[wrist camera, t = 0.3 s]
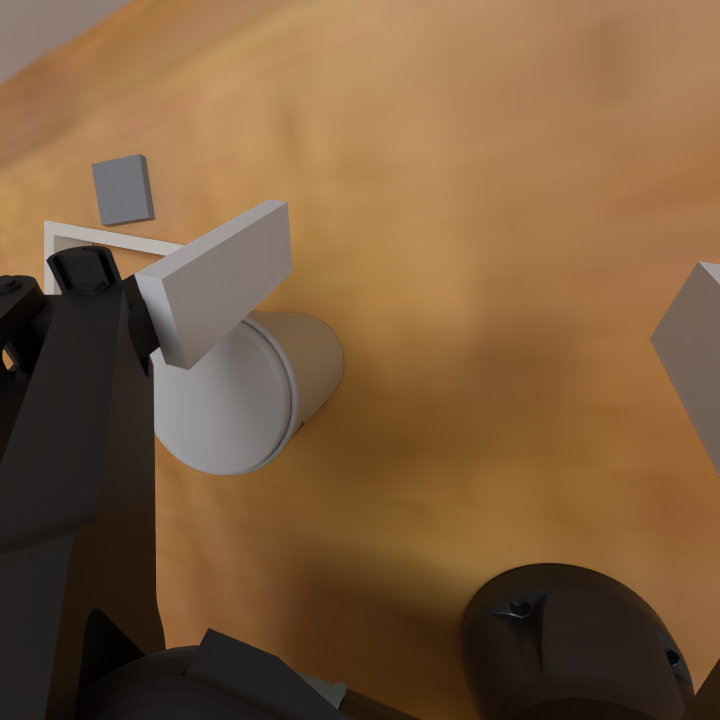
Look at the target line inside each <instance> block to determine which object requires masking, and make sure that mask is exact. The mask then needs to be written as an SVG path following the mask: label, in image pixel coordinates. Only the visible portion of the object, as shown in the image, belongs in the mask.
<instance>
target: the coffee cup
mask: <svg viewBox="0 0 720 720" xmlns="http://www.w3.org/2000/svg"><path fill="white" fill-rule="evenodd" d="M150 357H151V360H152V362H153V365H154V432H155V434H156V435H157V437H158V439H159V440H160V441H161V443H162V444H163V445H164V446H165V447H166V448H167V449H168V450H169V451H170V452H171V453H172V454H173V455H174V456H175V457H176V458H178V459H179V460H180V461H182V462H183V463H185V464H186V465H188V466H190V467H192V468H194V469H196V470H199V471H201V472H205V473H209V474H214V475H238V474H245V473H249V472H252V471H255V470H257V469H259V468H261V467H263V466H265V465H266V464H268V463H269V462H271V461H272V460H273V459H274V458H275V457H276V456H278V454H279V453H280V452H281V451H282V450H283V449H284V447H285V446H286V444H287V443H288V442H289V440H290V439H291V438H292V437H293V436H294V435H295V434H296V433H297V432H298V431H299V430H300V429H301V427H302V426H303V425H304V424H305V423H306V422H307V421H308V420H309V419H310V418H311V417H312V416H313V415H314V414H315V413H316V411H317V410H318V409H319V408H320V407H321V406H322V405H323V404H324V403H325V402H326V401H327V399H328V398H329V397H330V396H331V395H332V394H333V392H334V391H335V390H336V388H337V387H338V385H339V383H340V381H341V378H342V374H343V369H344V357H343V351H342V348H341V345H340V342H339V340H338V338H337V337H336V335H335V334H334V332H333V331H332V330H331V329H330V328H329V327H328V326H327V325H326V324H325V323H324V322H322V321H321V320H319V319H317V318H315V317H313V316H309V315H305V314H298V313H283V312H260V311H251V312H250V313H249V314H248V315H247V316H246V317H245V318H244V319H242V320H241V321H240V322H239V323H238V324H237V325H236V326H235V327H234V328H233V329H232V330H231V331H230V332H229V333H228V334H227V335H226V336H225V337H224V338H222V339H221V340H220V341H219V342H218V343H217V344H216V345H215V346H214V347H213V348H212V349H211V350H210V351H209V352H208V353H207V354H206V355H205V356H203V357H202V358H201V359H200V360H199V361H198V362H197V363H196V364H195V365H194V366H193V367H192V368H191V369H190V370H186V369H182V368H178V367H175V366H171V365H167V364H165V361H164V358H163V355H162V352H161V350H160V347H159V348H157V349H156V350H155V351H154V352H153V353H151V354H150Z"/></svg>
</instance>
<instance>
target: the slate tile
mask: <svg viewBox="0 0 720 720" xmlns="http://www.w3.org/2000/svg"><path fill="white" fill-rule="evenodd" d="M92 170H93V176H94V182H95V188H96V194H97V200H98V206H99V212H100V218H101V224H102V225H104V226H115V225H122V224H128V223H134V222H140V221H146V220H153V219H155V215H154V208H153V201H152V195H151V188H150V182H149V175H148V169H147V162H146V157H145V156H142V155H140V154H138V155H134V156H129V157H124V158H119V159H115V160H110V161H105V162H101V163H96V164H92Z"/></svg>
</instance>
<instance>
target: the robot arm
mask: <svg viewBox="0 0 720 720" xmlns="http://www.w3.org/2000/svg"><path fill="white" fill-rule="evenodd" d="M46 261H47V263H48V265H49V267H50V269H51V271H52V273H53V275H54V277H55V279H56V282H57V284H58V286H59V288H60V290H61V292H62V293H61V295H47V294H43V292H42V291H41V289H40V287H39V285H38V283H37V281H36V279H35V278H33V277H30V276H23V275H15V276H9V275H5V276H0V720H421V719H418V718H416V717H414V716H411V715H409V714H406V713H404V712H402V711H399V710H397V709H395V708H392V707H390V706H387V705H385V704H383V703H380V702H378V701H376V700H373V699H371V698H368V697H366V696H364V695H361V694H359V693H357V692H354V691H352V690H349V689H347V684H344V683H342V682H336V683H335V684H334V683H331V682H328V681H325V680H322V679H319V678H316V677H313V676H310V675H307V674H304V673H301V672H298V671H295V670H292V669H291V668H290V667H289V666H287V665H286V664H285V663H284V662H283V661H282V660H281V659H280V658H278V657H277V656H274V655H272V654H270V653H267V652H265V651H262V650H260V649H258V648H255V647H253V646H250V645H248V644H246V643H243V642H241V641H239V640H236V639H234V638H231V637H229V636H227V635H224V634H222V633H219V632H217V631H215V630H212V629H210V628H208V630H207V632H206V634H205V636H204V638H203V640H202V642H201V643H200V645H199V646H196V645H193V646H184V647H175V648H171V649H167V650H166V647H165V637H164V631H163V626H162V622H161V618H160V615H159V611H158V606H157V597H156V531H155V439H154V365H153V362H152V360H151V357H150V354H151V353H153V352H154V351H155V350H156V349H157V348H159V347H160V350H161V352H162V355H163V358H164V361H165V364H167V365H171V366H175V367H178V368H182V369H186V370H190V369H191V368H192V367H193V366H194V365H195V364H196V363H197V362H198V361H199V360H200V359H201V358H202V357H203V356H205V355H206V354H207V353H208V352H209V351H210V350H211V349H212V348H213V347H214V346H215V345H216V344H217V343H218V342H219V341H220V340H221V339H222V338H224V337H225V336H226V335H227V334H228V333H229V332H230V331H231V330H232V329H233V328H234V327H235V326H236V325H237V324H238V323H239V322H240V321H241V320H242V319H244V318H245V317H246V316H247V315H248V314H249V313H250V312H251V311H252V310H253V309H254V308H255V307H256V306H257V305H258V304H259V303H260V302H261V301H262V300H264V299H265V298H266V297H267V296H268V295H269V294H270V293H271V292H272V291H273V290H274V289H275V288H276V287H277V286H278V285H279V284H280V283H281V282H282V281H284V280H285V279H286V278H287V277H288V276H289V275H290V274H291V273H292V260H291V246H290V232H289V218H288V204H287V202H284V201H278V200H271V199H268V200H266V201H264V202H262V203H261V204H259V205H257V206H255V207H253V208H252V209H250V210H248V211H246V212H244V213H243V214H241V215H239V216H237V217H235V218H234V219H232V220H230V221H228V222H226V223H225V224H223V225H221V226H219V227H217V228H216V229H214V230H212V231H210V232H208V233H207V234H205V235H203V236H201V237H199V238H198V239H196V240H194V241H192V242H190V243H189V244H187V245H185V246H183V247H181V248H180V249H178V250H176V251H174V252H172V253H171V254H169V255H167V256H165V257H163V258H162V259H160V260H158V261H156V262H154V263H153V264H151V265H149V266H147V267H145V268H144V269H142V270H140V271H138V272H136V273H135V274H133V275H131V276H129V277H128V278H126V279H124V280H122V279H121V277H120V274H119V271H118V269H117V266H116V263H115V261H114V258H113V255H112V253H111V250H110V249H108V248H106V247H102V246H79V247H73V248H69V249H65V250H62V251H59V252H57V253H55V254H52V255H51V256H49V257H48V258H47V259H46ZM650 340H651V342H652V344H653V346H654V348H655V350H656V352H657V354H658V356H659V358H660V360H661V362H662V364H663V366H664V368H665V370H666V372H667V374H668V376H669V378H670V380H671V382H672V384H673V386H674V388H675V390H676V392H677V394H678V396H679V398H680V400H681V402H682V404H683V405H684V407H685V409H686V411H687V413H688V415H689V417H690V419H691V421H692V423H693V425H694V427H695V429H696V431H697V433H698V435H699V437H700V439H701V441H702V443H703V445H704V447H705V449H706V451H707V453H708V455H709V457H710V459H711V461H712V463H713V465H714V467H715V469H716V471H717V473H718V475H719V477H720V264H713V263H706V262H699V261H698V262H697V264H696V266H695V267H694V269H693V270H692V272H691V274H690V275H689V277H688V278H687V280H686V282H685V283H684V285H683V286H682V288H681V290H680V291H679V293H678V294H677V296H676V298H675V299H674V301H673V302H672V304H671V306H670V307H669V309H668V310H667V312H666V314H665V315H664V317H663V318H662V320H661V322H660V323H659V325H658V326H657V328H656V330H655V331H654V333H653V334H652V336H651V338H650ZM3 349H4V350H5V351H6V353H7V354H8V356H9V357H10V359H11V360H12V362H13V363H14V364H13V365H12V366H11V368H10V369H9V370H7V368H6V367H5V364H4V362H3V359H2V351H3ZM462 662H463V669H464V674H465V679H466V682H467V685H468V688H469V691H470V694H471V697H472V700H473V703H474V706H475V709H476V712H477V715H478V718H479V720H720V659H719V660H718V662H717V663H716V665H715V666H714V668H713V669H712V671H711V672H710V674H709V675H708V677H707V678H706V680H705V681H704V683H703V684H702V686H701V687H700V689H699V690H698V692H697V693H696V695H695V694H694V689H693V684H692V680H691V676H690V673H689V670H688V667H687V664H686V662H685V660H684V658H683V655H682V653H681V652H680V650H679V648H678V646H677V645H676V643H675V641H674V640H673V638H672V636H671V635H670V633H669V631H668V630H667V628H666V626H665V625H664V623H663V622H662V620H661V619H660V617H659V616H658V615H657V614H656V612H655V611H654V610H653V609H652V608H651V607H650V606H649V605H648V604H647V603H646V602H645V601H644V600H643V599H642V598H641V597H639V596H638V595H637V594H636V593H634V592H633V591H631V590H630V589H628V588H627V587H625V586H624V585H622V584H620V583H618V582H617V581H615V580H613V579H611V578H609V577H606V576H604V575H601V574H599V573H596V572H593V571H590V570H586V569H582V568H578V567H572V566H566V565H535V566H528V567H523V568H519V569H516V570H513V571H510V572H508V573H505V574H503V575H501V576H499V577H497V578H496V579H494V580H492V581H491V582H489V583H488V584H487V585H486V586H484V587H483V588H482V589H481V590H480V591H479V592H478V594H477V595H476V596H475V597H474V599H473V600H472V602H471V603H470V605H469V607H468V609H467V611H466V614H465V617H464V621H463V627H462Z"/></svg>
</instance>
